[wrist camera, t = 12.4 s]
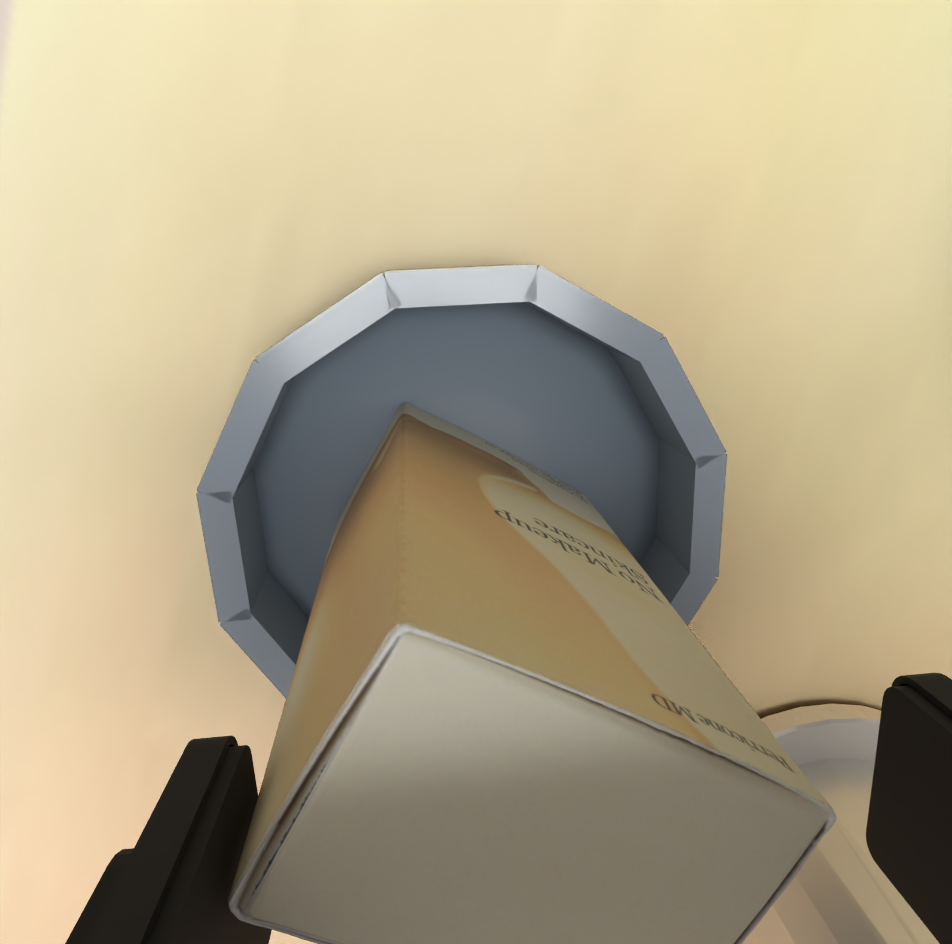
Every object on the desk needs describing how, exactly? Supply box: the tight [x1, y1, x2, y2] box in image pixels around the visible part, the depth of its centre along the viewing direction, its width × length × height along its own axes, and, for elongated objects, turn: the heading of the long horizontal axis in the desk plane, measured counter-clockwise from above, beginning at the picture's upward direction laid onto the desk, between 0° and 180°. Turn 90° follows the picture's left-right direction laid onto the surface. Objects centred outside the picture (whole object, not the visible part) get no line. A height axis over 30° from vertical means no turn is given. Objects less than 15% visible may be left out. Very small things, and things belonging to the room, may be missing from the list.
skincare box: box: [228, 403, 836, 944], centre depth 14 cm, size 6×4×12 cm
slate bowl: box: [196, 265, 727, 698], centre depth 19 cm, size 13×13×4 cm
